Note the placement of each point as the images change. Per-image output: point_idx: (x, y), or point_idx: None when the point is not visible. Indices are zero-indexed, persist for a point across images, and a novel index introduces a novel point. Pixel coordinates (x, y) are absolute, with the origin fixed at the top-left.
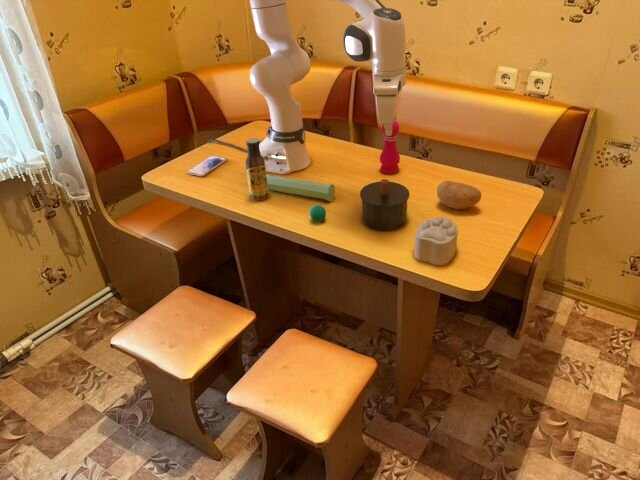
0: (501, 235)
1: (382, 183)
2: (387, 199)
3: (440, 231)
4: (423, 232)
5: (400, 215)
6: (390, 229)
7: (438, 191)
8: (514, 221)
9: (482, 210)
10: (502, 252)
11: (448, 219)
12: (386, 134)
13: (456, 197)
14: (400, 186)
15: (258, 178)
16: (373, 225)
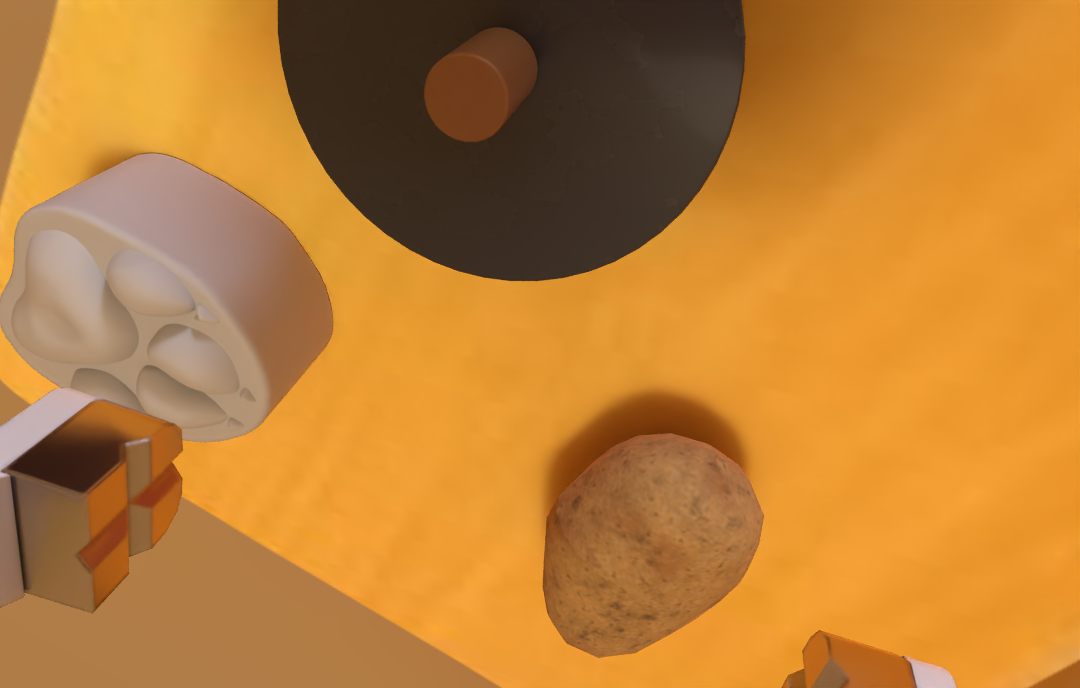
0: (371, 570)
1: (433, 66)
2: (383, 78)
3: (47, 350)
4: (37, 255)
5: None
6: None
7: (656, 462)
8: (483, 651)
9: None
10: (244, 528)
11: (242, 422)
12: (50, 408)
13: (555, 530)
14: (610, 230)
15: None
16: None
